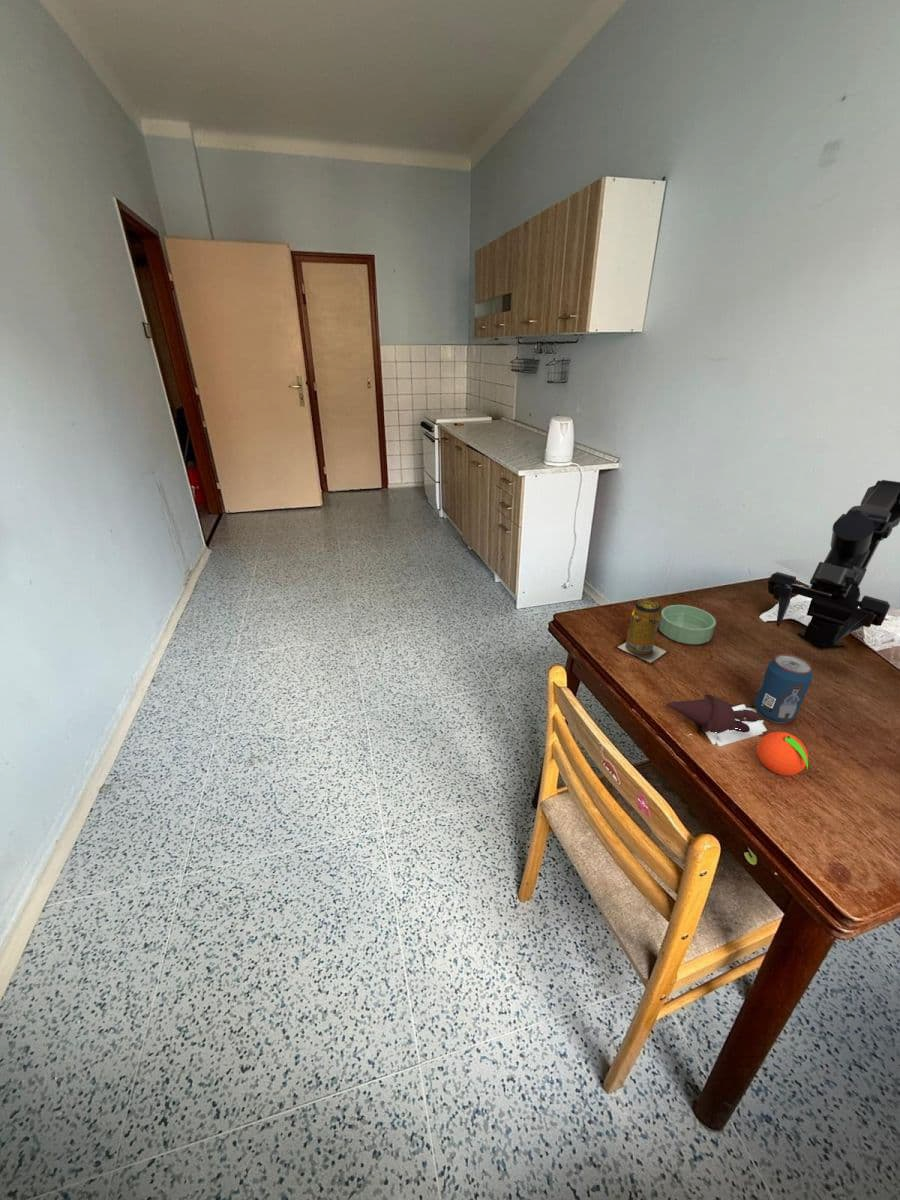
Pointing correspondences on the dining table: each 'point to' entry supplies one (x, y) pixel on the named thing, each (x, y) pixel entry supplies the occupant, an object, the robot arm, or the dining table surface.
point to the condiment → (643, 631)
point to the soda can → (783, 688)
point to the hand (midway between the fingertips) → (804, 634)
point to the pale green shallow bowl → (686, 624)
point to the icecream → (715, 714)
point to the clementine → (782, 753)
